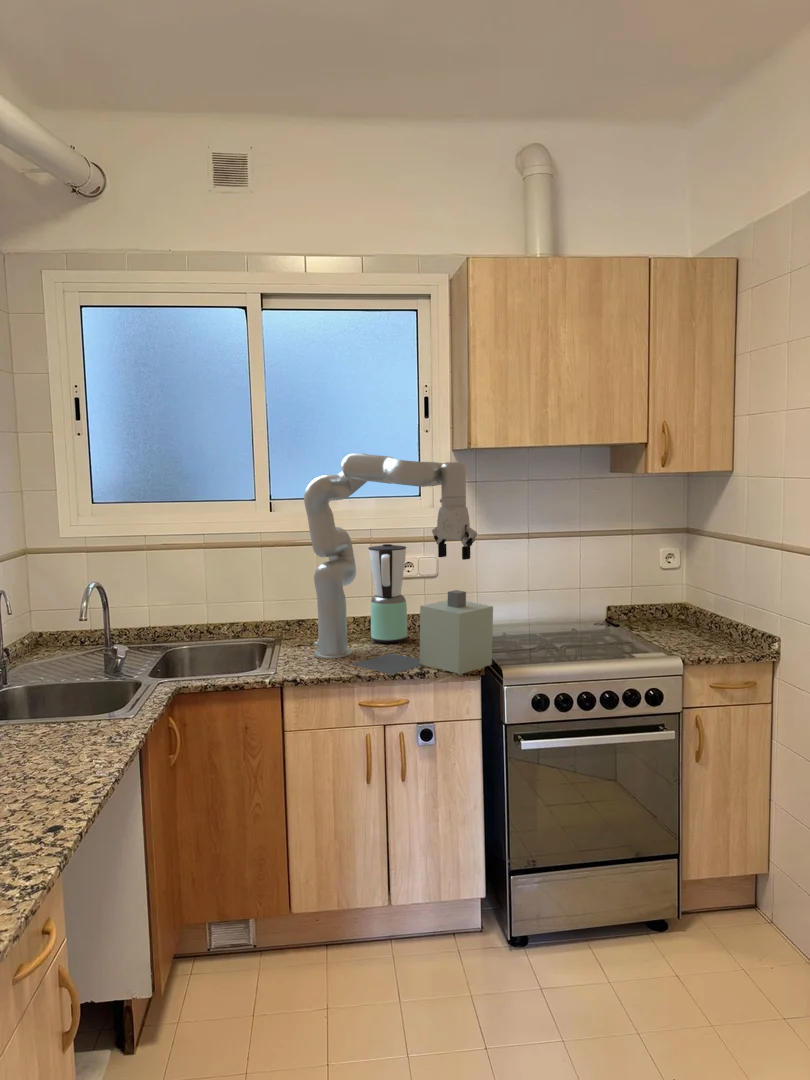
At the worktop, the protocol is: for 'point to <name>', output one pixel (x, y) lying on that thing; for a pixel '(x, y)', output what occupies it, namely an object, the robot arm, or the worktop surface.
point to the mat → (390, 663)
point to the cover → (456, 634)
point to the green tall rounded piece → (388, 594)
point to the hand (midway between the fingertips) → (454, 558)
